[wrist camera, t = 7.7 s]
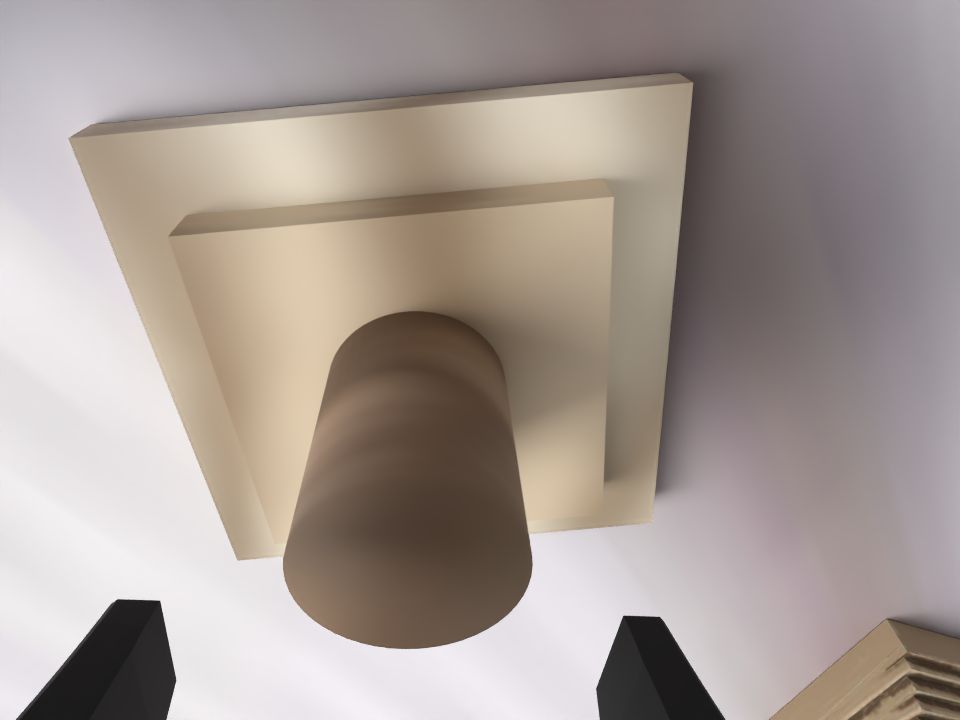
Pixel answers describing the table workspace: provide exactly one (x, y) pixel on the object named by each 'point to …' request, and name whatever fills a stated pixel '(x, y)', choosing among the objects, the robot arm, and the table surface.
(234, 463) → the pedestal
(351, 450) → the walnut cylinder
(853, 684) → the banker's lamp
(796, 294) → the table surface
